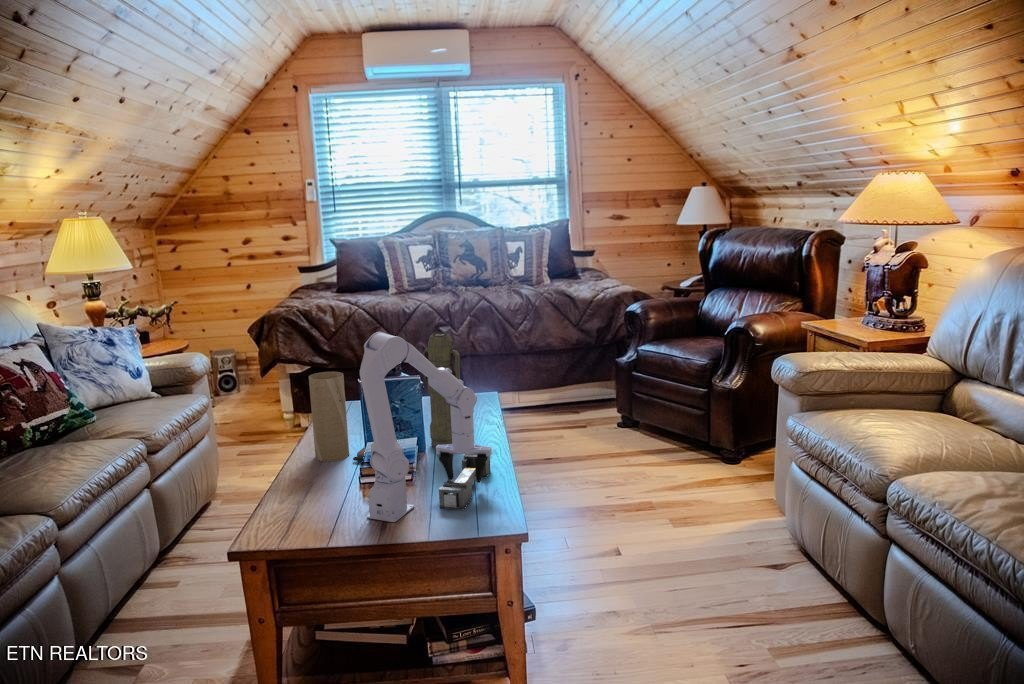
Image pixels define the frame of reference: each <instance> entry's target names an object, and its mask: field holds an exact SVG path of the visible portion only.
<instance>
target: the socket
mask: <svg viewBox="0 0 1024 684" xmlns="http://www.w3.org/2000/svg"><path fill="white" fill-rule="evenodd" d="M476 457H477V455H466V454H463V459H462V460H461V472H462V471H463V470H464V468H476V464H475V458H476ZM489 472H490V473H491V456H490V457H489V456H488V458H487V460H486V462H485V465H484V468H483V472H482V477H488V476H489V475H488V474H490V473H489ZM487 475H488V476H487ZM476 478H477V471H476Z"/></svg>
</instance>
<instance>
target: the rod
mask: <svg viewBox="0 0 1024 684" xmlns="http://www.w3.org/2000/svg"><path fill="white" fill-rule="evenodd" d="M467 480H469V481H472V485H474V483H475V481H477V477H476V468H464V470H463V471H462V470H461V472H460V474H459V475H458V476H457V477H456V479H455V480H453V482H454V483H466V482H467ZM451 488H460V487H451ZM458 504H459V494H458V493H454V492H446V493H445V494H444V505H445V507H457V506H458Z"/></svg>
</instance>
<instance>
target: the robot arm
mask: <svg viewBox="0 0 1024 684" xmlns="http://www.w3.org/2000/svg"><path fill="white" fill-rule="evenodd" d="M363 349H364V351H363V352H364V353H363V356H362V360H361V364H360V369H359V377H360V378H359V379H360V383H361V386H362V392H363V397H364V401H365V407H366V410H367V415H368V421H369V424H370V429H371V434H372V438H373V443H371V444H370V447H371V457H370V463H369V464H370V466H371V468H372V469H373V470H374V472H375V474H374V477H375V478H374V479H375V480H374V483H373V485H372V487H371V488H370V489H369V491H368V496H367V497H368V498H367V499H368V508H369V510H368V512H369V513H368V514H367V515H366V518H367V519H371V520H378V521H383V522H389V523H390V522H391V523H396V522H397V521H399V520H400V519H401V518H402V517H403V516H405V515H407V513H409V512H410V511H411V510H412V509H414V508H415V505H414V504H410V503H408V501H407V500H408V499H407V484H406V483H407V482H406V481H407V480H406V476H407V475H408V473H409V470H410V465H409V462H410V461H409V459H408V458H407V457H406V456H405V454H404V450H403V448H402V446H401V444H400V443H399V441H398V439H397V436H396V432H395V426H394V420H393V417H392V416H393V415H392V411H391V406H390V401H389V397H388V391H387V387H386V383H385V377H386V376H387V375H388V373H389V372H390V371H392V369H394V368H395V367H396V366H397V365H399V364H401V362H403V363H408V364H409V365H410V366H412V367H413V368H415V369H416V370H417V371H419V373H421V374H424V375H425V376H426V377H428V383H429V385H430V386H431V387H432V388H433V389H434V390H436V391H437V392H438V393H439V394H441V395H442V396H443V397H444V398H445V399H446V402H447V403H449V404H451V405H450V408H451V427H452V444H447V445H437V446H436V448H435V454H436V455H439V457H438V460H439V461H440V463H441V465H442V466H443V468H444V470H445V473H446V476H447V479H448V480H449V479H451V480H453V481H454V465H453V464H454V463H453V462H454V455H465V454H466V455H477V457H476V458H475V464H476V471H477V477H476V483H478V484H479V483H481V481H482V479H483V478H482V472H483V468H484V465H485V462H486V460H487V458H488V456H489V457H490V458H491V456H492V454H493V451H492V446H485V445H479V444H475V432H474V431H475V429H474V425H475V424H474V412H475V410H474V408H475V406H476V405H477V402H478V396H476V394H475V391H474V390H473V388H471V387H468V386H465V385H464V382H465V381H464V380H462V379H461V378H460V379H459V380H458V379H457V378H456V377H455V376H453V375H452V374H451V372H452V371H451V370H450V369H449V368H446V369H445V368H443V367H440V368H436V367H435V366H434V365H433V364H432V363H431V362H430V361H429V358H428V359H427V358H426V357H427V356H426V357H424V356H423V355H422V352H421V351H419V350H418V349H417V348H416V347H415V346H414V345H413V344H411V343H410V342H408V341H406V340H405V339H404V338H402V337H401V336H397V335H396V336H395V335H392V334H388V333H386V332H384V331H377V332H374V333H373V334H371V335H370V337H369V338H368V339H367V340H366V341H365V343H364V344H363ZM424 375H423V376H424ZM452 405H453V406H452ZM448 480H447V481H448Z"/></svg>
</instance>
